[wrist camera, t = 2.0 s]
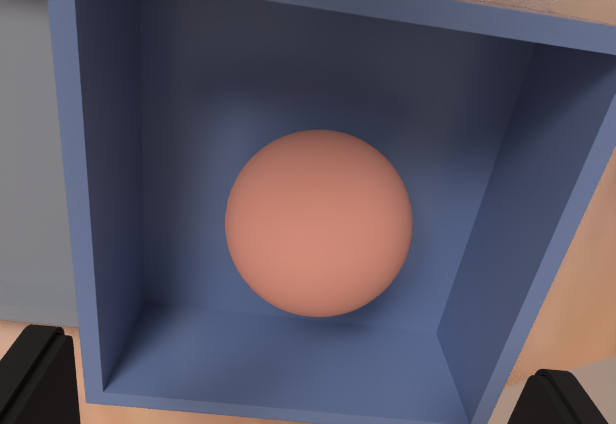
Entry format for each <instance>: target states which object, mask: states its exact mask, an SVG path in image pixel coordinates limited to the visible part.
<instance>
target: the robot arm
mask: <svg viewBox="0 0 616 424" xmlns="http://www.w3.org/2000/svg"><path fill="white" fill-rule="evenodd" d="M0 424H80V413H79V401H78V390H77V379H76V368H75V357H74V346H73V338H72V337H71V336H68V335H65V334H64V330H63V329H62V327H54V326H42V325H28V326H27V327H26V328H25V329H24V330H23V331H22V333H21V334H20V335H19V337H18V338H17V339H16V341H15V342H14V343H13V345H12V346H11V347H10V349H9V350H8V351H7V353H6V354H5V355H4V357H3V358H2V359H1V360H0ZM507 424H608V422H607V421H606V419H605V418H604V417H603V415H602V414H601V413H600V411H599V410H598V408H597V407H596V406H595V404H594V403H593V401H592V400H591V399H590V397H589V396H588V394H587V393H586V392H585V390H584V389H583V387H582V386H581V385H580V383H579V382H578V380H577V379H576V377H575V376H574V375H573V374H572V373H570V372H568V371H561V370H549V369H540V370H538V371H537V372H536V373H535V375H532V376H530V377H529V378H528V380H527V382H526V384H525V387H524V388H523V391H522V393H521V395H520V397H519V399H518V401H517V404H516V406H515V408H514V410H513V412H512V415H511V417H510V419H509V421H508V423H507Z"/></svg>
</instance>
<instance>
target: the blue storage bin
mask: <svg viewBox="0 0 616 424" xmlns="http://www.w3.org/2000/svg"><path fill="white" fill-rule="evenodd" d="M47 2H48V13H49V23H50V33H51V44H52V54H53V65H54V75H55V85H56V96H57V106H58V117H59V127H60V137H61V148H62V158H63V169H64V179H65V189H66V200H67V210H68V220H69V231H70V241H71V252H72V262H73V272H74V283H75V293H76V304H77V314H78V324H79V335H80V345H81V356H82V366H83V376H84V387H85V397H86V403H92V404H103V405H115V406H126V407H137V408H148V409H160V410H171V411H182V412H194V413H205V414H216V415H227V416H239V417H250V418H261V419H273V420H284V421H295V422H307V423H318V424H487V423H488V421H489V419H490V417H491V414H492V412H493V410H494V408H495V406H496V404H497V401H498V399H499V397H500V395H501V392H502V391H503V388H504V386H505V384H506V382H507V380H508V378H509V375H510V373H511V371H512V369H513V367H514V365H515V362H516V360H517V358H518V356H519V354H520V352H521V349H522V347H523V345H524V343H525V341H526V339H527V336H528V334H529V332H530V330H531V328H532V326H533V323H534V321H535V319H536V317H537V315H538V313H539V310H540V308H541V306H542V304H543V302H544V300H545V297H546V295H547V293H548V291H549V289H550V287H551V284H552V282H553V280H554V278H555V276H556V274H557V271H558V269H559V267H560V265H561V263H562V261H563V258H564V256H565V254H566V252H567V250H568V248H569V245H570V243H571V241H572V239H573V237H574V235H575V232H576V230H577V228H578V226H579V224H580V222H581V219H582V217H583V215H584V213H585V211H586V209H587V206H588V204H589V202H590V200H591V198H592V196H593V193H594V191H595V189H596V187H597V185H598V183H599V180H600V178H601V176H602V174H603V172H604V170H605V167H606V165H607V163H608V161H609V159H610V157H611V154H612V152H613V150H614V148H615V146H616V25H614V24H609V23H604V22H598V21H593V20H588V19H583V18H578V17H573V16H568V15H563V14H557V13H552V12H545V11H539V10H533V9H527V8H521V7H514V6H508V5H502V4H496V3H490V2H484V1H477V0H47ZM319 129H321V130H333V131H338V132H343V133H346V134H349V135H352V136H355V137H357V138H359V139H361V140H363V141H365V142H366V143H368V144H369V145H371V146H372V147H374V148H375V149H377V150H378V151H379V152H380V153H381V154H382V155H383V156H385V157H386V158H387V159H388V161H389V162H390V163H391V164H392V165H393V167H394V168H395V169H396V171H397V173H398V174H399V176H400V178H401V179H402V181H403V183H404V185H405V188H406V190H407V193H408V196H409V200H410V204H411V209H412V221H413V226H412V238H411V242H410V247H409V251H408V254H407V256H406V259H405V262H404V264H403V265H402V267H401V269H400V271H399V273H398V274H397V276H396V277H395V279H394V280H393V281H392V283H391V284H390V285H389V286H388V287H387V288H386V289H385V290H384V291H383V292H382V293H381V294H380V295H378V296H377V297H376V298H375V299H374V300H372V301H371V302H369V303H367V304H366V305H364V306H362V307H360V308H358V309H356V310H353V311H351V312H348V313H345V314H341V315H336V316H330V317H308V316H301V315H297V314H293V313H289V312H287V311H284V310H282V309H279V308H278V307H276V306H274V305H272V304H270V303H269V302H267V301H266V300H264V299H263V298H261V297H260V296H259V295H258V294H257V293H255V292H254V291H253V290H252V289H251V288H250V286H249V285H248V284H247V283H246V282H245V280H244V279H243V278H242V276H241V275H240V273H239V272H238V270H237V268H236V266H235V264H234V262H233V260H232V258H231V255H230V252H229V249H228V245H227V239H226V232H225V214H226V208H227V201H228V198H229V195H230V191H231V189H232V187H233V185H234V183H235V181H236V178H237V176H238V175H239V173H240V172H241V170H242V169H243V167H244V166H245V165H246V164H247V162H248V161H249V160H250V159H251V158H252V157H253V156H254V155H255V154H256V153H257V152H259V151H260V150H261V149H262V148H263V147H265V146H266V145H268V144H269V143H271V142H273V141H274V140H277V139H279V138H281V137H283V136H286V135H289V134H292V133H295V132H300V131H305V130H319Z"/></svg>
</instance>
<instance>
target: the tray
mask: <svg viewBox="0 0 616 424" xmlns="http://www.w3.org/2000/svg"><path fill="white" fill-rule="evenodd" d="M0 320H7V321H17V322H27V323H37V324H47V325H57V326H67V327H77V328H79V324H78V314H77V304H76V293H75V283H74V272H73V262H72V252H71V241H70V231H69V220H68V210H67V200H66V189H65V179H64V169H63V158H62V148H61V137H60V127H59V117H58V106H57V96H56V85H55V75H54V65H53V54H52V44H51V33H50V23H49V13H48V2H47V0H0Z"/></svg>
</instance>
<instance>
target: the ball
mask: <svg viewBox="0 0 616 424" xmlns="http://www.w3.org/2000/svg"><path fill="white" fill-rule="evenodd" d="M412 226H413V221H412V209H411V204H410V200H409V196H408V193H407V190H406V188H405V185H404V183H403V181H402V179H401V178H400V176H399V174H398V173H397V171H396V169H395V168H394V167H393V165H392V164H391V163H390V162H389V161H388V159H387V158H386V157H385V156H383V155H382V154H381V153H380V152H379V151H378V150H377V149H375V148H374V147H372V146H371V145H369V144H368V143H366V142H365V141H363V140H361V139H359V138H357V137H355V136H352V135H349V134H346V133H343V132H338V131H333V130H321V129H319V130H305V131H300V132H295V133H292V134H289V135H286V136H283V137H281V138H279V139H277V140H274V141H273V142H271V143H269V144H268V145H266V146H265V147H263V148H262V149H261V150H260V151H259V152H257V153H256V154H255V155H254V156H253V157H252V158H251V159H250V160H249V161H248V162H247V164H246V165H245V166H244V167H243V169H242V170H241V172H240V173H239V175H238V176H237V178H236V181H235V183H234V185H233V187H232V189H231V191H230V195H229V198H228V201H227V208H226V214H225V232H226V239H227V245H228V249H229V252H230V255H231V258H232V260H233V262H234V264H235V266H236V268H237V270H238V272H239V273H240V275H241V276H242V278H243V279H244V280H245V282H246V283H247V284H248V285H249V286H250V288H251V289H252V290H253V291H254V292H255V293H257V294H258V295H259V296H260V297H261V298H263V299H264V300H266V301H267V302H269V303H270V304H272V305H274V306H276V307H278V308H279V309H282V310H284V311H287V312H289V313H293V314H297V315H301V316H308V317H330V316H336V315H341V314H345V313H348V312H351V311H353V310H356V309H358V308H360V307H362V306H364V305H366V304H367V303H369V302H371V301H372V300H374V299H375V298H376V297H377V296H378V295H380V294H381V293H382V292H383V291H384V290H385V289H386V288H387V287H388V286H389V285H390V284H391V283H392V281H393V280H394V279H395V277H396V276H397V274H398V273H399V271H400V269H401V267H402V265H403V264H404V262H405V259H406V256H407V254H408V251H409V247H410V242H411V238H412Z"/></svg>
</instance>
